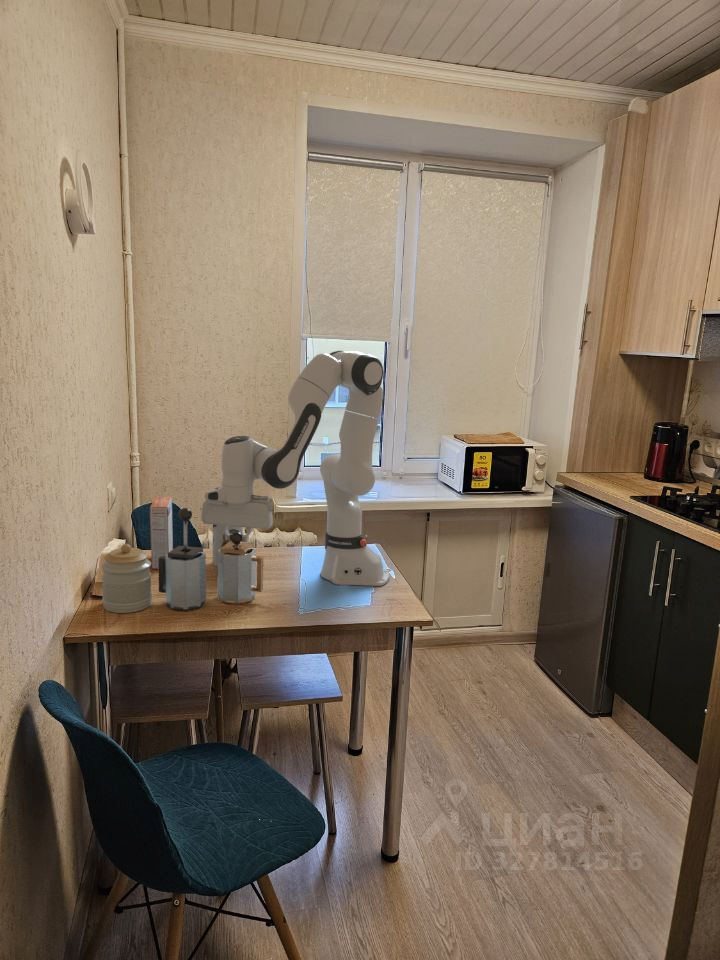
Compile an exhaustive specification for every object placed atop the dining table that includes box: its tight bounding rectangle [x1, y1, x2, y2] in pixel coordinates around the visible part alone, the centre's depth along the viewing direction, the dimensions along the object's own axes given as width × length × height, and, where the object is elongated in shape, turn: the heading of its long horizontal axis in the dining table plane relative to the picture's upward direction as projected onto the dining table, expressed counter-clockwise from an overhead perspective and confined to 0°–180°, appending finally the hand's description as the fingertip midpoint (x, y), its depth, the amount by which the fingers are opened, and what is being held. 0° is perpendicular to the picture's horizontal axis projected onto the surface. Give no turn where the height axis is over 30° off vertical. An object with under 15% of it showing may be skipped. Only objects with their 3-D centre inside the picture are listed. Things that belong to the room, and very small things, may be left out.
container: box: [212, 525, 244, 568], centre depth 220 cm, size 10×10×20 cm
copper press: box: [217, 542, 264, 605], centre depth 191 cm, size 13×10×16 cm
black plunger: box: [178, 507, 193, 560], centre depth 183 cm, size 8×8×17 cm
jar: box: [100, 543, 153, 614], centre depth 182 cm, size 13×13×18 cm
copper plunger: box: [231, 532, 244, 555], centre depth 190 cm, size 8×8×17 cm
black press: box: [158, 545, 207, 612], centre depth 185 cm, size 13×10×16 cm
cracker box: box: [149, 496, 174, 570], centre depth 218 cm, size 14×6×21 cm, turn 10°
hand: (236, 541), depth 189 cm, fingers closed on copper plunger, 4 cm apart
